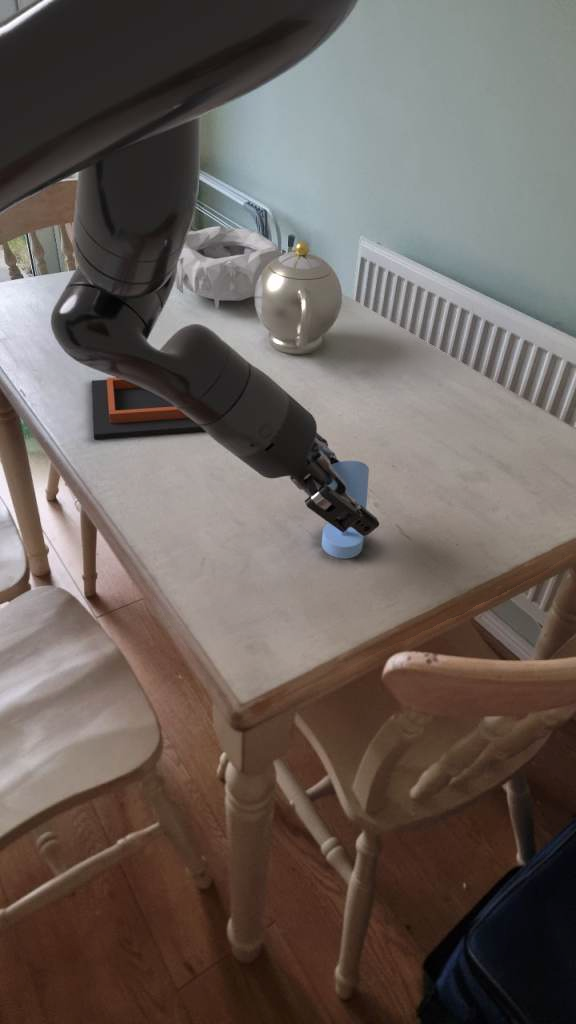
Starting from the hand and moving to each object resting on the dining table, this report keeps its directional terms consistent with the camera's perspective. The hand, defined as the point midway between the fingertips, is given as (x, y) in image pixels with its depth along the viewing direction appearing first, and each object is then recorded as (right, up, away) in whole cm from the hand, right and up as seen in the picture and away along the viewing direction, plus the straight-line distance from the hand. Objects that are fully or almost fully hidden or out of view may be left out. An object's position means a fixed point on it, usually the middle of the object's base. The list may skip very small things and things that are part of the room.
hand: (360, 505), depth 74 cm
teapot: (-6, +26, +38) cm, 47 cm away
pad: (-26, +14, +22) cm, 37 cm away
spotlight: (-2, -4, +3) cm, 5 cm away
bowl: (-19, +39, +53) cm, 68 cm away
